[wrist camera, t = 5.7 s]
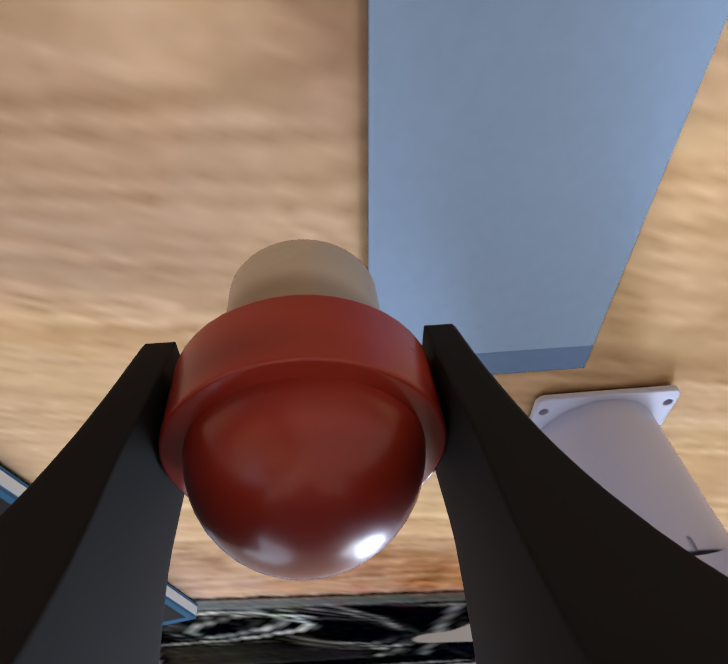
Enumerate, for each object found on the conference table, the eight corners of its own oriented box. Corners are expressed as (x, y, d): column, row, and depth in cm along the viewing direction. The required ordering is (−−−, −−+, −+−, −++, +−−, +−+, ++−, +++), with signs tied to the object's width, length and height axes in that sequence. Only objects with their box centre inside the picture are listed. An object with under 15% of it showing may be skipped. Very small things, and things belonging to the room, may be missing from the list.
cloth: (581, 363, 27) (584, 367, 26) (367, 379, 26) (368, 384, 26) (805, -191, 13) (814, -192, 13) (367, -191, 12) (369, -191, 12)
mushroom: (403, 364, 15) (454, 612, 10) (218, 378, 14) (179, 641, 10) (414, 199, 11) (503, 459, 6) (170, 211, 11) (72, 495, 6)
